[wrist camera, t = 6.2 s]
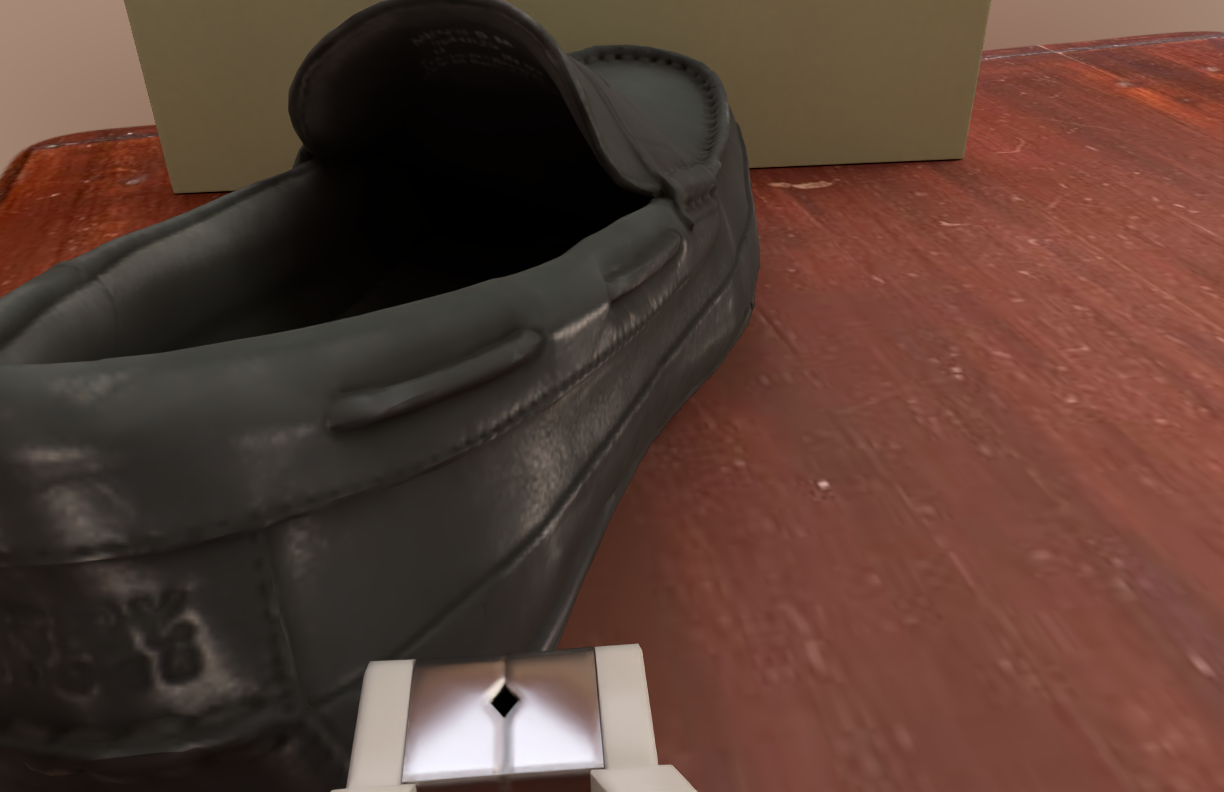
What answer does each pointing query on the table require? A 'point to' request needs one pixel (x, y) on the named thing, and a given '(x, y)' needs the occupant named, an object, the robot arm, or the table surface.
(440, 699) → the robot arm
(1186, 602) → the table surface
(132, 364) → the loafer
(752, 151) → the wooden plank
